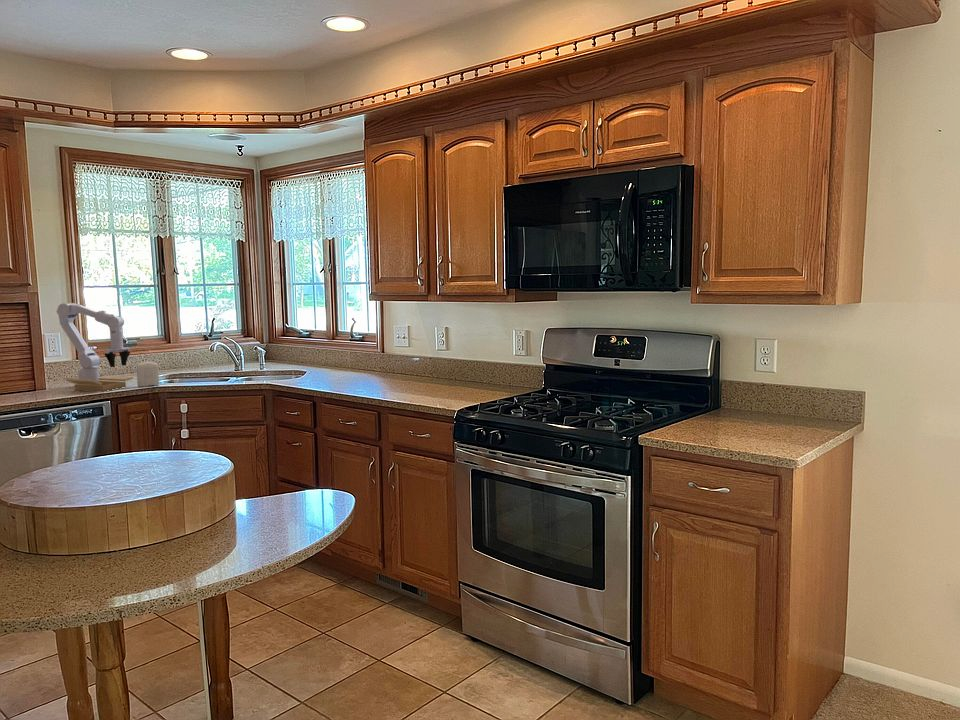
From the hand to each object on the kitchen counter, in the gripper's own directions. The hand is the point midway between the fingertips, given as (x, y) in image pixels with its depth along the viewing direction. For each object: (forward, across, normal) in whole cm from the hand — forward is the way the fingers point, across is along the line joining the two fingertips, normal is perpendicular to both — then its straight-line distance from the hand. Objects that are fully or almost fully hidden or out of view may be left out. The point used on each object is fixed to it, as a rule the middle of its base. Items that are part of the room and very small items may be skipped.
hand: (118, 366), depth 379 cm
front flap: (+4, -23, -2) cm, 24 cm away
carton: (+10, -14, -2) cm, 17 cm away
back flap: (+5, -4, -2) cm, 7 cm away
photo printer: (+10, +2, -17) cm, 20 cm away
